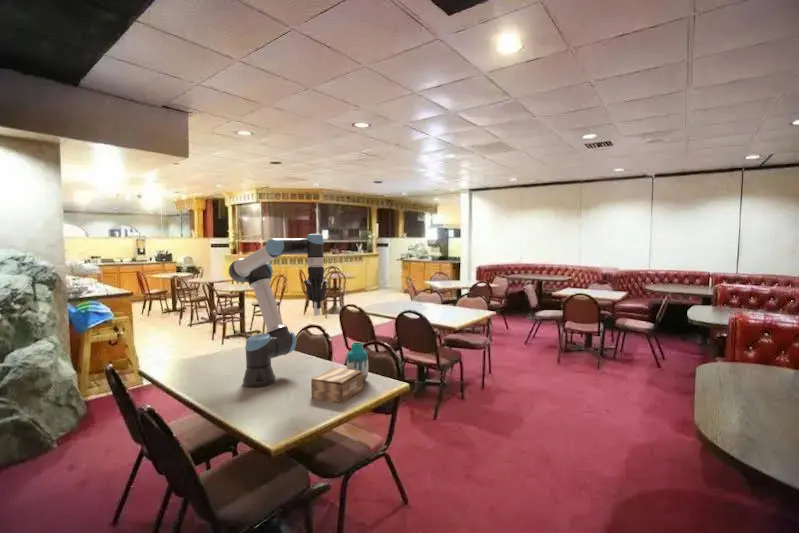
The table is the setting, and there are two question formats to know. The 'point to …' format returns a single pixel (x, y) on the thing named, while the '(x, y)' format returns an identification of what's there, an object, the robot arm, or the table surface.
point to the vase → (358, 359)
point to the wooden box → (337, 389)
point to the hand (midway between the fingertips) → (316, 315)
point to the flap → (336, 375)
